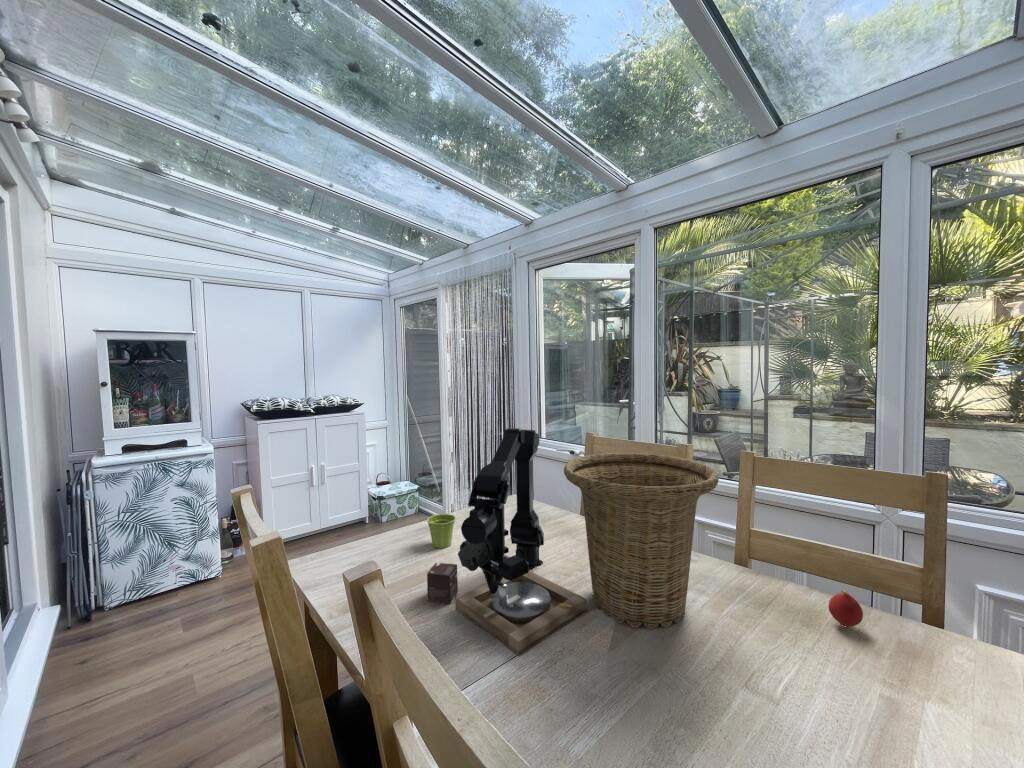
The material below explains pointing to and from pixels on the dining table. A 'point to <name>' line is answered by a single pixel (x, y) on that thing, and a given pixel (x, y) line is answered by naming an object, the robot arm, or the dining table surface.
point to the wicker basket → (640, 531)
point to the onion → (845, 609)
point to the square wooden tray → (528, 634)
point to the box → (442, 583)
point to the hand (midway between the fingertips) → (493, 592)
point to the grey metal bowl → (520, 601)
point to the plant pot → (441, 529)
